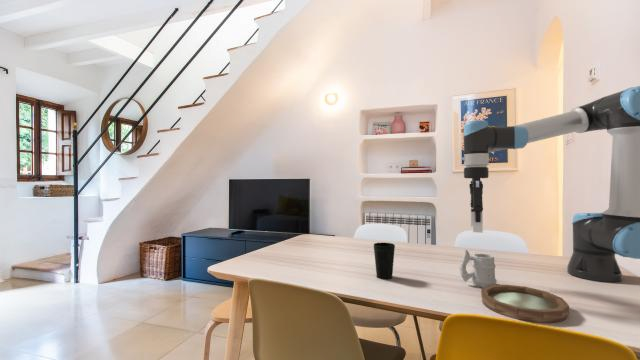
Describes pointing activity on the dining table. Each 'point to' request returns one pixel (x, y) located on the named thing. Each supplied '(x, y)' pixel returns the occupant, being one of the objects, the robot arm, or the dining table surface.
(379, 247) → the cup
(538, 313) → the tray
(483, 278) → the mug
